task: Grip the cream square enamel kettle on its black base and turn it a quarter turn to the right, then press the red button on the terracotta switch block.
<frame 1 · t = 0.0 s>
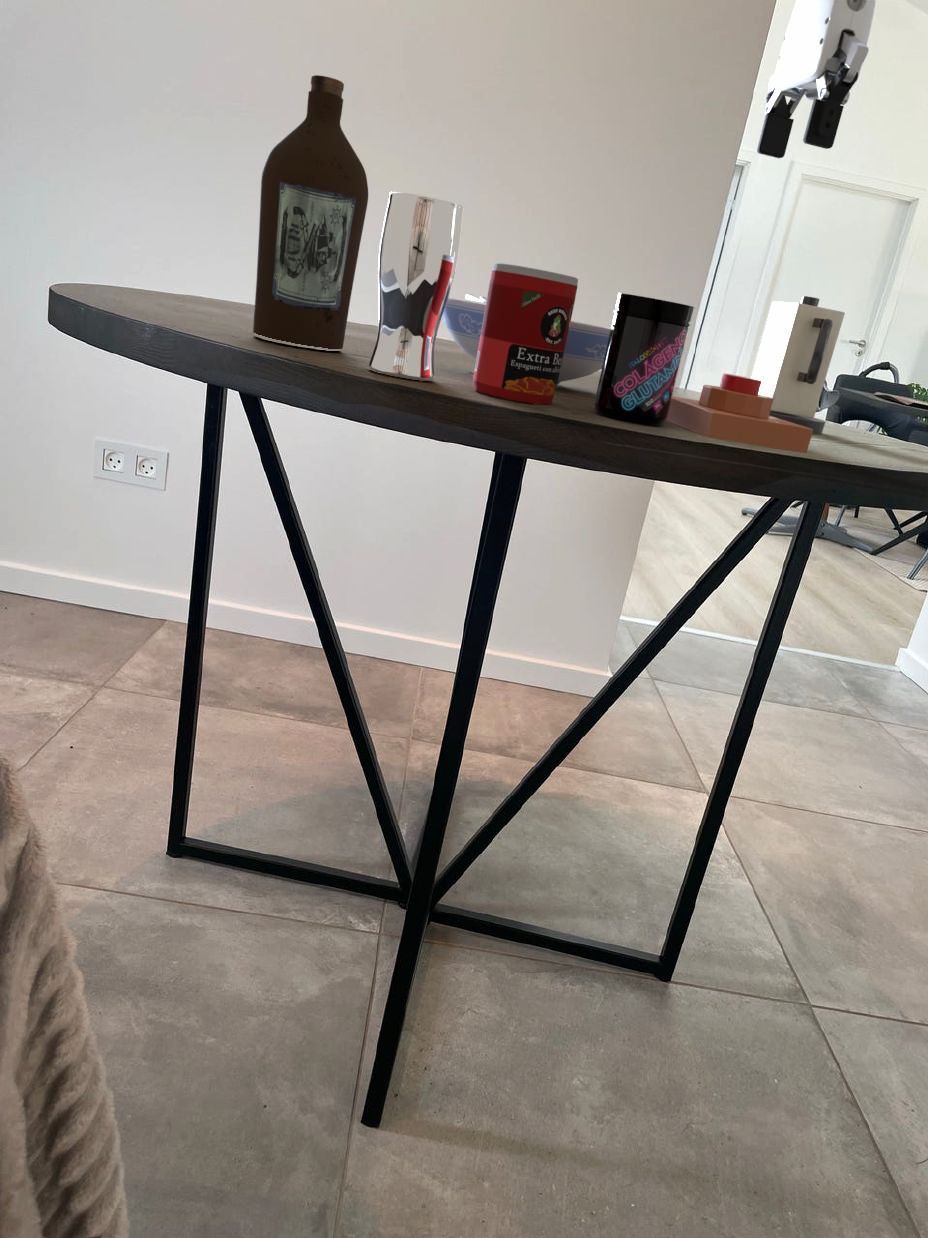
hand: (792, 150, 100), 29 cm above the table, tool pointing down, fingers open, 9 cm apart
switch block: (727, 433, 88), on the table
olive oil: (296, 346, 98), on the table
kettle base: (774, 424, 112), on the table
kettle: (795, 355, 109), point 8 cm above the table, hinge at 0.0°
canned food: (511, 398, 85), on the table
button: (740, 386, 87), point 4 cm above the table, slide at 0.1 cm
beer glass: (400, 377, 85), on the table
ramen bowl: (523, 382, 107), on the table
supplement container: (627, 422, 84), on the table
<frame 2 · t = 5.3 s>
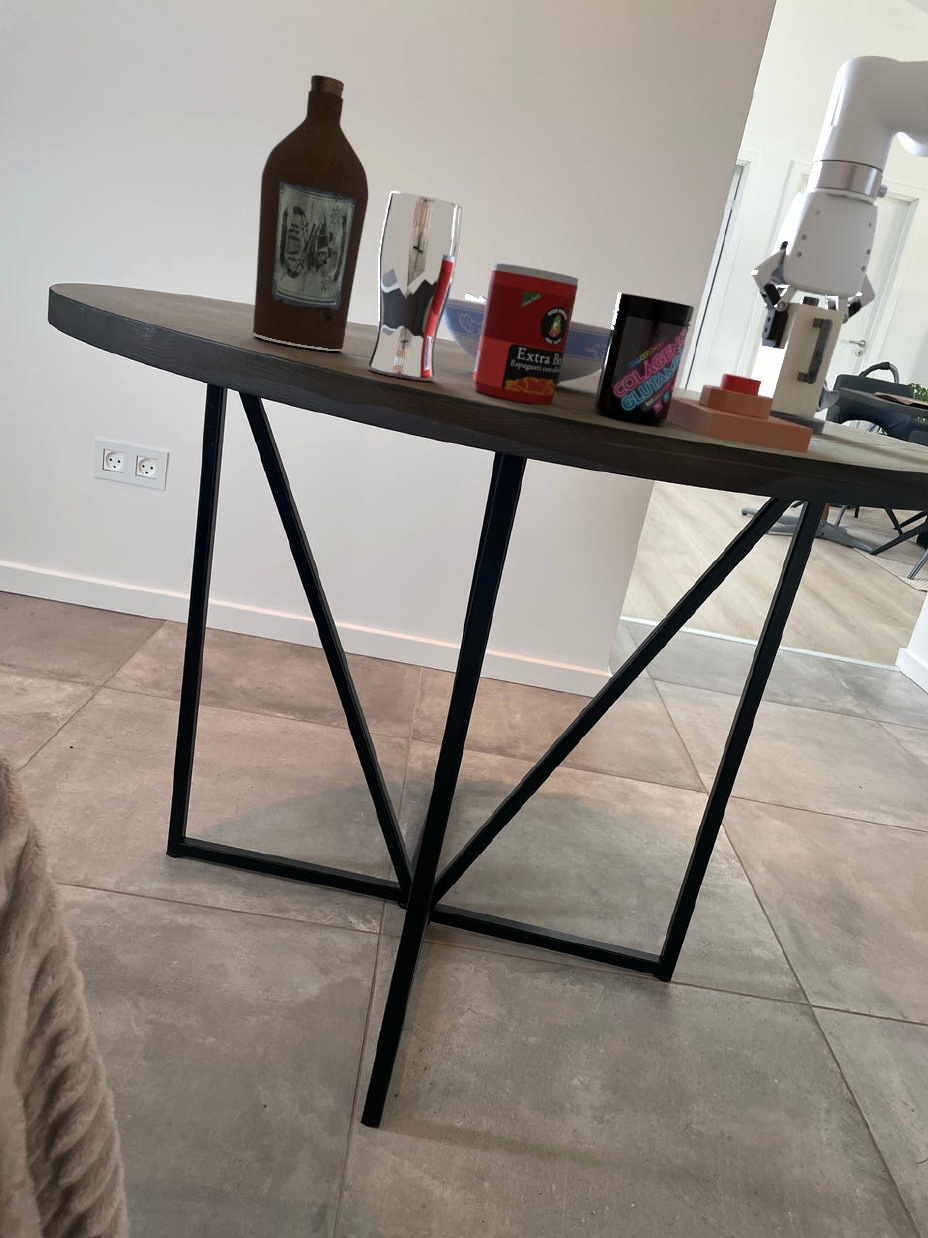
hand: (795, 350, 109), 9 cm above the table, tool pointing down, fingers closed on kettle, 6 cm apart
kettle: (795, 355, 109), point 8 cm above the table, hinge at 0.0°, touching gripper
everything else where it was.
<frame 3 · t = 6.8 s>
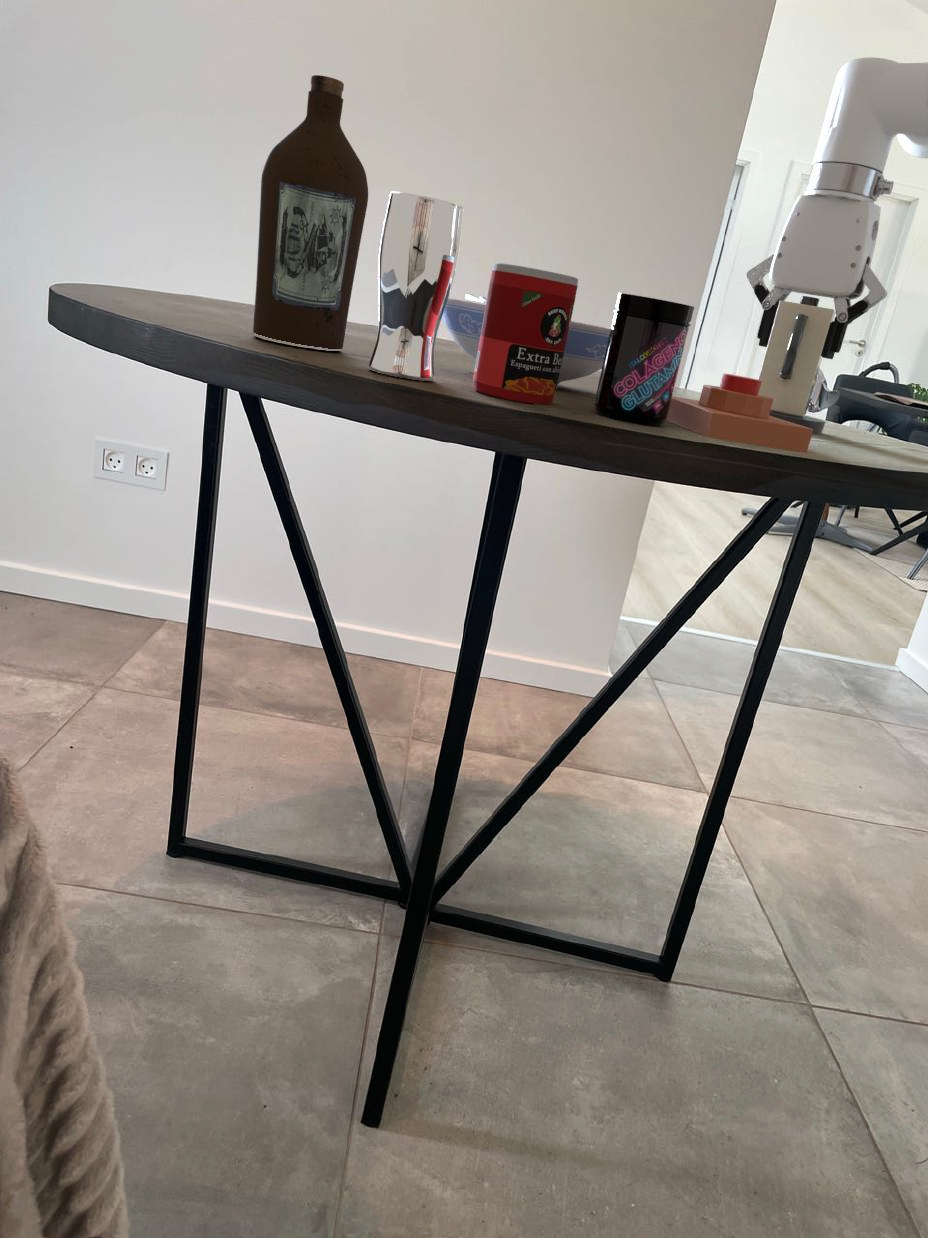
hand: (795, 351, 109), 9 cm above the table, tool pointing down, fingers closed on kettle, 6 cm apart
kettle: (794, 354, 109), point 8 cm above the table, hinge at -34.6°, touching gripper
everything else where it was.
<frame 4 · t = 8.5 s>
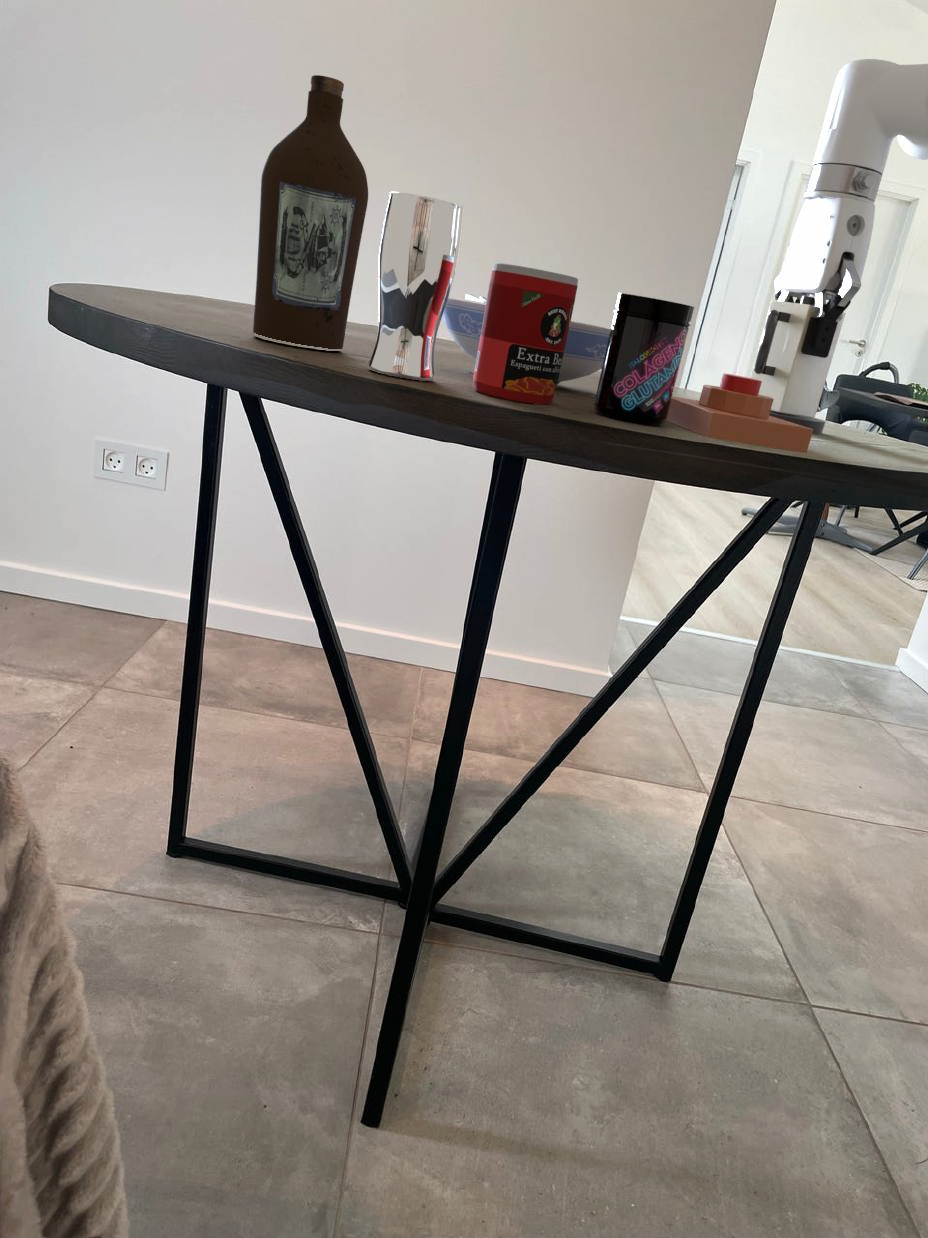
hand: (795, 351, 109), 9 cm above the table, tool pointing down, fingers closed on kettle, 7 cm apart
kettle: (793, 354, 109), point 8 cm above the table, hinge at -73.7°, touching gripper
everything else where it was.
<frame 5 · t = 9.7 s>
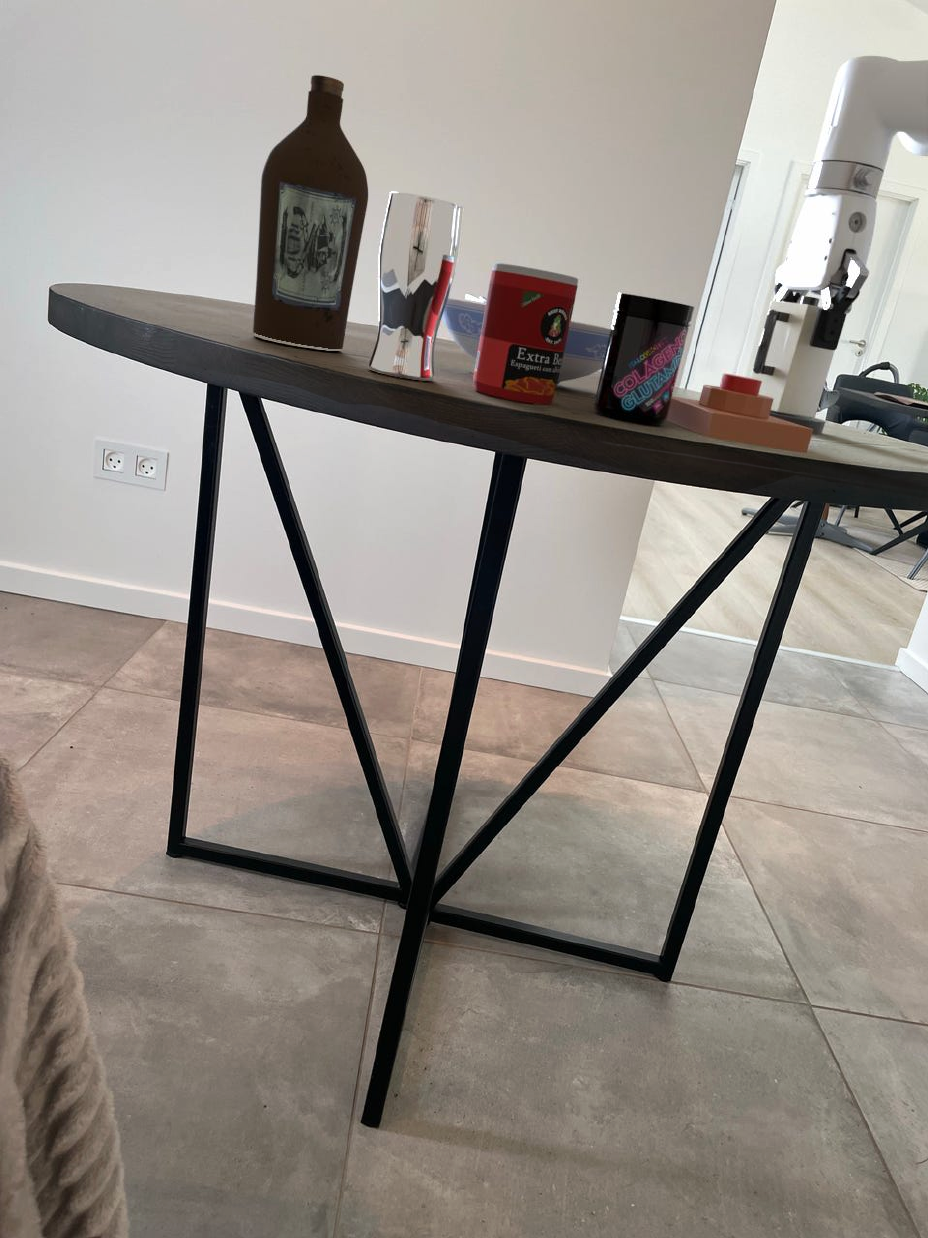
hand: (799, 344, 108), 9 cm above the table, tool pointing down, fingers open, 9 cm apart
kettle: (793, 354, 109), point 8 cm above the table, hinge at -76.1°
everything else where it was.
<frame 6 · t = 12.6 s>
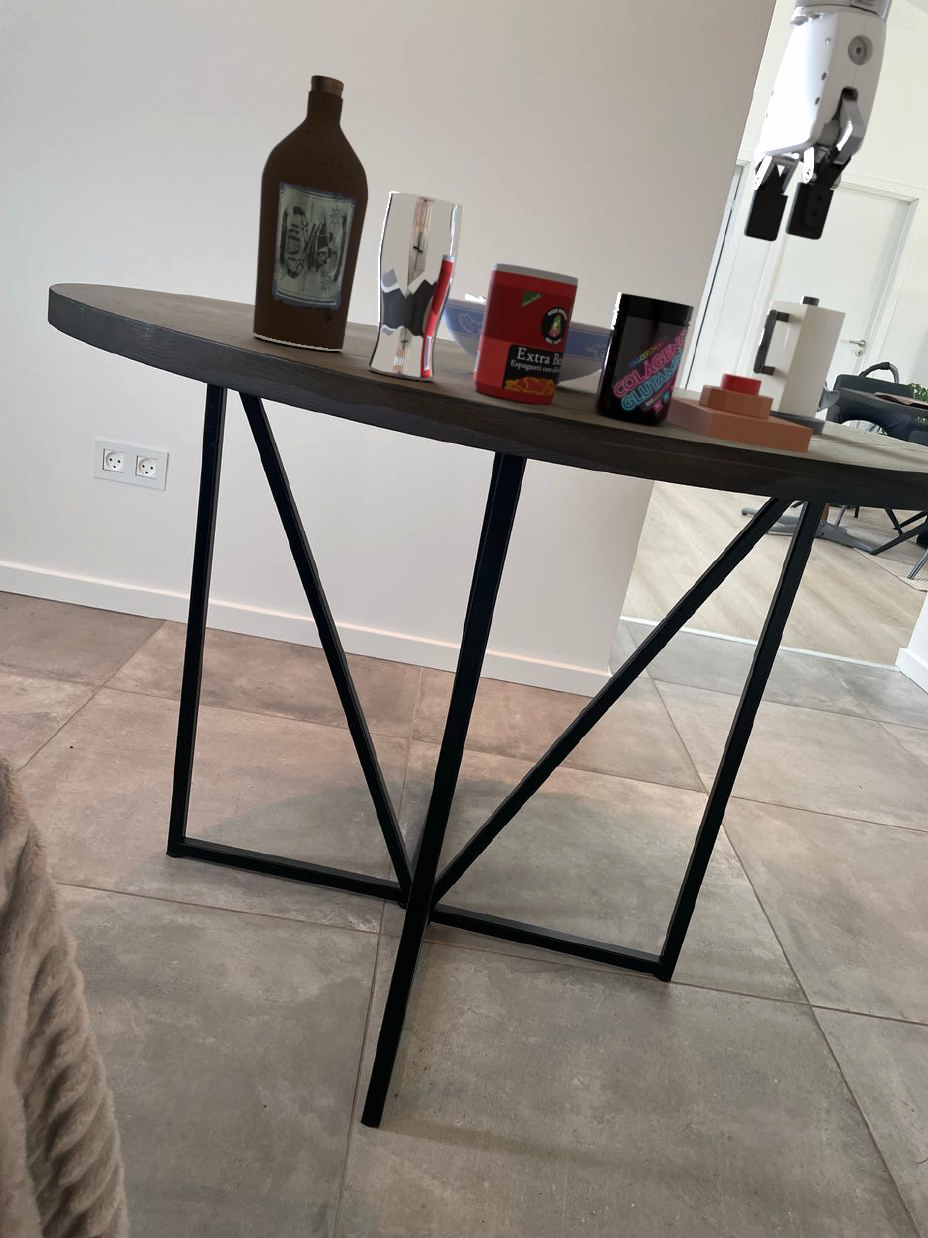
hand: (780, 235, 83), 18 cm above the table, tool pointing down, fingers open, 6 cm apart
nothing on the table moved.
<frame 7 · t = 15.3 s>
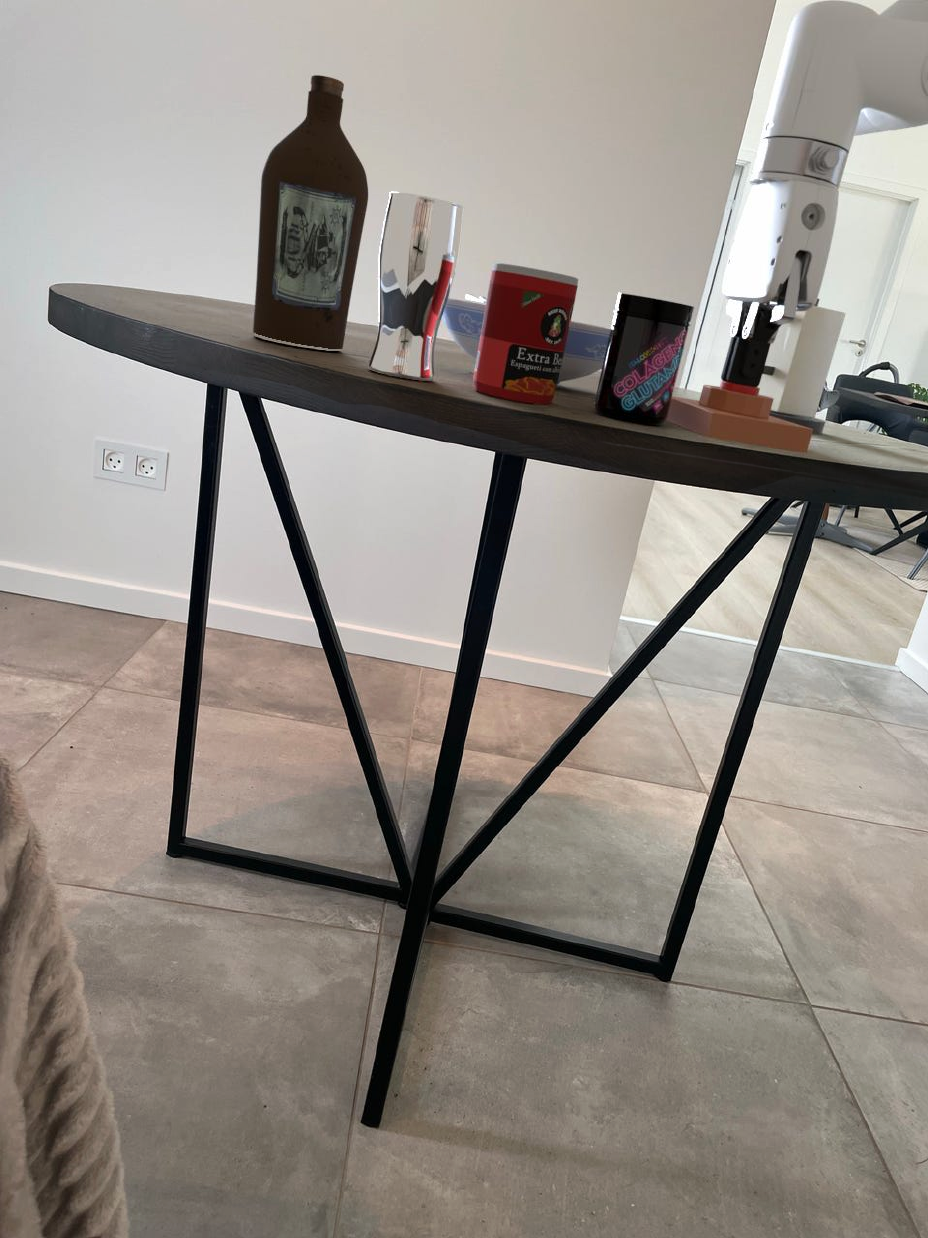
hand: (739, 383, 87), 5 cm above the table, tool pointing down, fingers closed
button: (738, 393, 87), point 4 cm above the table, slide at -0.6 cm, touching gripper
everything else where it was.
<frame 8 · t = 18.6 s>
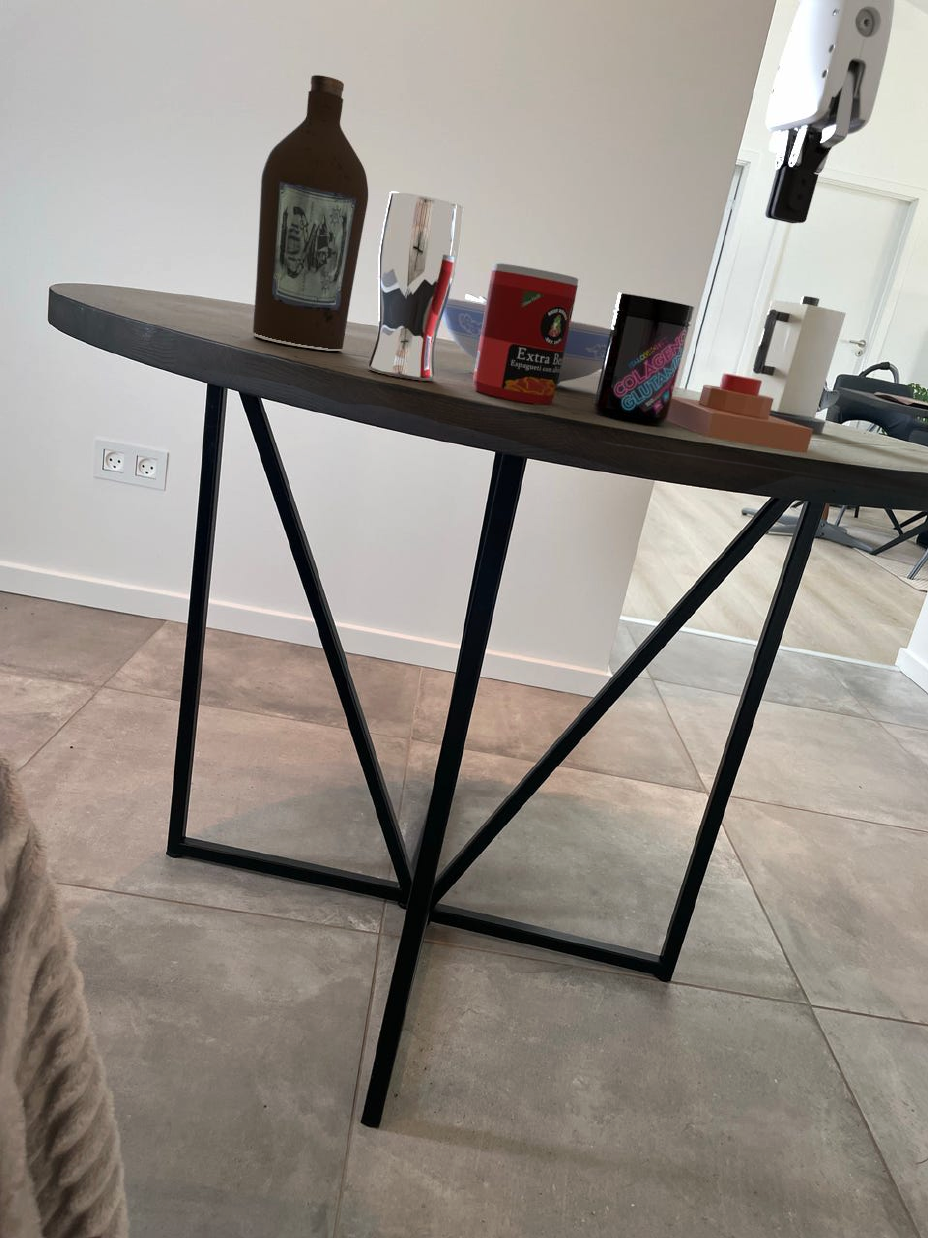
hand: (784, 219, 82), 19 cm above the table, tool pointing down, fingers closed
button: (740, 386, 87), point 4 cm above the table, slide at 0.1 cm
everything else where it was.
at the end: kettle at -76° (first picture: +0°); button pushed in 1.1 cm at the most during the clip, back to where it started at the end; button slide at 0.1 cm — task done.
